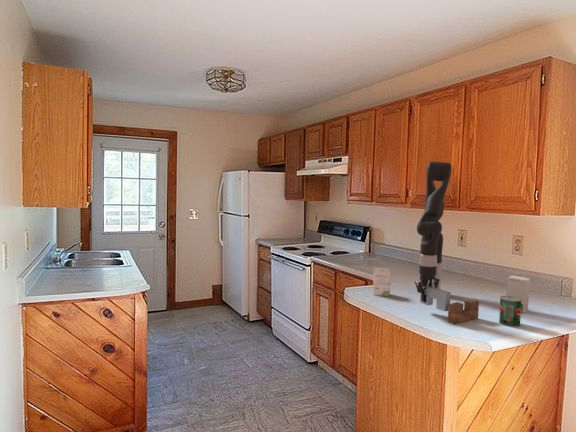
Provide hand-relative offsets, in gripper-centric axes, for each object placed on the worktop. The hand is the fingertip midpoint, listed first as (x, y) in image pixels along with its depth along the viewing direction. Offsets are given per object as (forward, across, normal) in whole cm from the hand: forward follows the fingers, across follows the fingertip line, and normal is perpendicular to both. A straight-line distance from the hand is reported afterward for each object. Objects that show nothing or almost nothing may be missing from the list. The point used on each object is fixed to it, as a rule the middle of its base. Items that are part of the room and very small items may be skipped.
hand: (426, 301), depth 184 cm
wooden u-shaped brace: (+5, -6, +15) cm, 17 cm away
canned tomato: (+6, -20, +27) cm, 34 cm away
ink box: (+6, -4, -34) cm, 35 cm away
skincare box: (+6, -42, +17) cm, 46 cm away
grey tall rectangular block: (+1, 0, +4) cm, 5 cm away
